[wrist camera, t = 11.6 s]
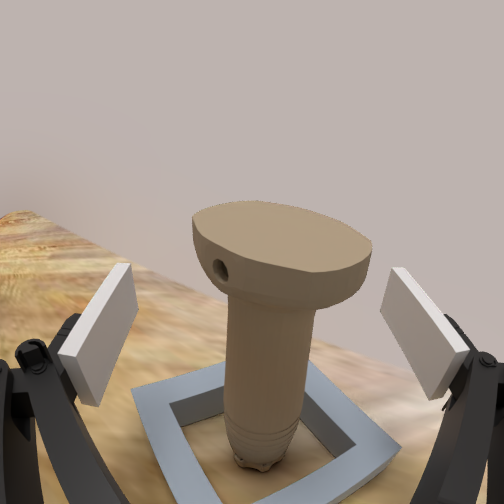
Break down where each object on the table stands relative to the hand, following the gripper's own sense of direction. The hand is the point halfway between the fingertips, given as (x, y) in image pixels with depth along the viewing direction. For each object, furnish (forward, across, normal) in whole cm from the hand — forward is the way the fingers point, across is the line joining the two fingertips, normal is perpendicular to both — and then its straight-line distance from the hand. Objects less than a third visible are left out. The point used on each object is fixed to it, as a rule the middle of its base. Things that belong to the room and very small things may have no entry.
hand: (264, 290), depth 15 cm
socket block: (-3, 0, -11) cm, 11 cm away
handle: (-3, 0, -11) cm, 11 cm away
